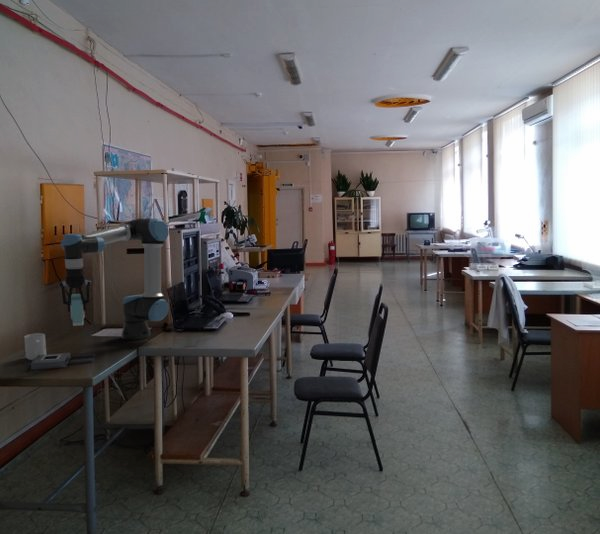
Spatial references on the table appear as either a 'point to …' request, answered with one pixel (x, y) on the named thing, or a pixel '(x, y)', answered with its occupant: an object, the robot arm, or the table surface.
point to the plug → (76, 309)
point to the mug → (35, 345)
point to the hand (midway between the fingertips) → (77, 318)
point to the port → (50, 361)
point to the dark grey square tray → (82, 359)
